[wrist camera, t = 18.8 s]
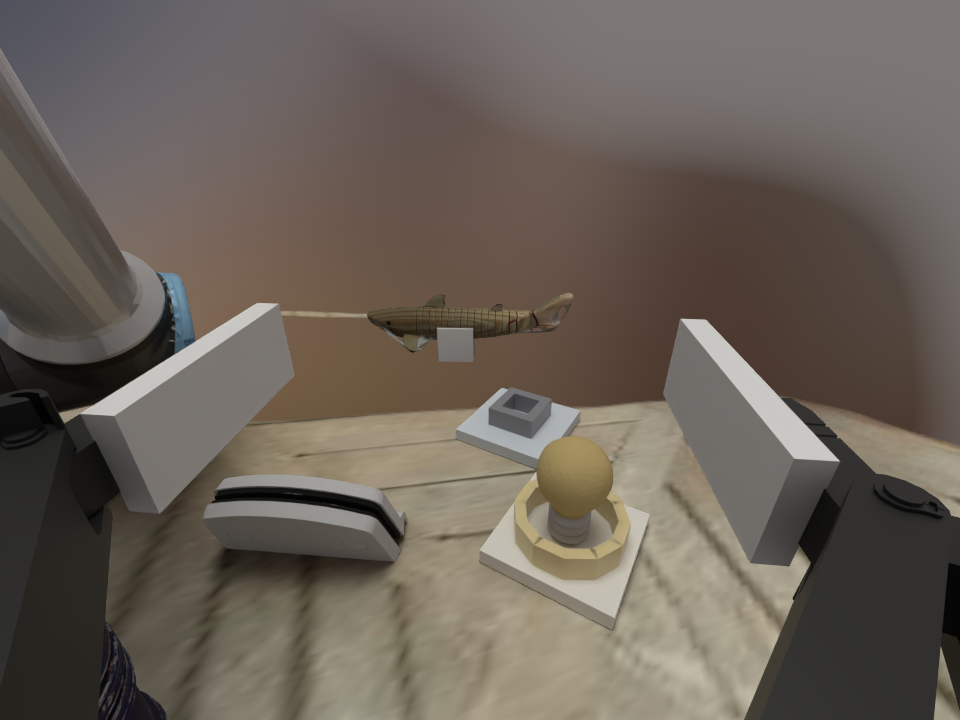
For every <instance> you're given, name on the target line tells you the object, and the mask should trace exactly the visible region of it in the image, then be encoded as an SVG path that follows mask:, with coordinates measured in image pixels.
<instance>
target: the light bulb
mask: <svg viewBox="0 0 960 720" xmlns="http://www.w3.org/2000/svg"><path fill="white" fill-rule="evenodd" d="M536 475H537V481H538V485H539V488H540V490H541V492H542V494H543V496H544V497H545V498H546V500H547V501H548V502H549V513H548V530H549V532H550V534H551V535H552V536H553V537H554V538H555V539H557V540H558V541H560V542H563V543H567V544H576V543H579V542H581V541H583V540H584V539H585V538H586V537H587V535H588V532H589V525H590V517H591V511H592V510H594V509H595V508H597V507H598V506H600V505H601V504H602V503H603V502H604V500H605V499H606V498H607V497H608V495H609V493H610V491H611V488H612V484H613V469H612V465H611V462H610V460H609V458H608V456H607V455H606V453H605V452H604V451H603V450H602V448H601V447H600V446H598V445H597V444H596V443H595V442H593V441H592V440H590V439H587V438H584V437H579V436H568V437H562V438H559V439H557V440H554V441H552V442H550V443H549V444H548V445H547V446H546V447H545V448H544V449H543V451H542V452H541V455H540V457H539V459H538V463H537V470H536Z"/></svg>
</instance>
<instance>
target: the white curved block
mask: <svg viewBox="0 0 960 720" xmlns="http://www.w3.org/2000/svg"><path fill="white" fill-rule="evenodd" d="M214 494H215V495H216V496H215V499H216V500H215V501H213V502H212V503H211V504H208V505H207V506H206V508H205V512H204V515H203V518H202V522H203V523H204V524H205V525H206V526H207V528H208V529H209V530H210V531H211V532H212V533H213V534H214V535H215V536H216V538H217V539H218V540H219V541H220V542H221V543H222V544H223V545H224V546H225V547H226V548H228V549H240V550H253V551H265V552H278V553H290V554H302V555H315V556H327V557H339V558H352V559H364V560H376V561H389V562H395V561H396V560H397V558H398V556H399V553H400V551H401V549H400V548H399V547H398V543H397V541H396V540H395V539H394V538H398V539H399V538H400V535H403V536H404V523H407V517H406V515H405V512H404V511H395V509H394V508H393V506H392V505H391V503H390V502H389V500H388V499H387V497H386V496H385V494H384V493H383V492H382V491H380V490H378V489H376V488H372V487H368V486H363V485H359V484H354V483H349V482H344V481H338V480H331V479H324V478H317V477H308V476H296V475H247V476H238V477H231V478H226V479H224V480H223V481H222V482H221V483H220V485H219V486H218V487H217V488H216V490H215V491H214Z"/></svg>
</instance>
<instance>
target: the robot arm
mask: <svg viewBox="0 0 960 720" xmlns="http://www.w3.org/2000/svg"><path fill="white" fill-rule="evenodd" d="M293 376H294V371H293V366H292V362H291V357H290V353H289V348H288V344H287V339H286V335H285V331H284V326H283V321H282V318H281V312H280V308H279V304H267V303H257V304H255V305H254V306H252V307H250V308H249V309H247V310H245V311H244V312H242V313H240V314H239V315H237V316H236V317H234V318H232V319H231V320H229V321H228V322H226V323H225V324H223V325H221V326H220V327H218V328H216V329H215V330H213V331H212V332H210V333H208V334H207V335H205V336H204V337H202V338H201V339H199V340H197V341H196V340H195V334H194V327H193V322H192V318H191V313H190V309H189V304H188V300H187V296H186V291H185V287H184V284H183V281H182V279H181V278H180V276H178V275H177V274H173V273H168V274H167V273H166V274H165V273H163V272H158V273H155V272H154V271H153V270H152V269H151V268H150V266H149V265H147V264H146V263H145V262H143V261H142V260H140V259H139V258H137V257H135V256H134V255H131V254H129V253H127V252H125V251H122V250H119V248H118V246H117V245H116V243H115V241H114V240H113V238H112V236H111V235H110V233H109V231H108V229H107V228H106V226H105V224H104V223H103V221H102V219H101V218H100V216H99V214H98V212H97V211H96V209H95V207H94V206H93V204H92V202H91V201H90V199H89V197H88V196H87V194H86V192H85V191H84V189H83V187H82V185H81V184H80V182H79V180H78V179H77V177H76V175H75V174H74V172H73V170H72V169H71V167H70V165H69V164H68V162H67V160H66V158H65V157H64V155H63V153H62V152H61V150H60V148H59V147H58V145H57V143H56V142H55V140H54V138H53V136H52V135H51V133H50V132H49V130H48V128H47V126H46V125H45V123H44V121H43V120H42V118H41V117H40V115H39V113H38V111H37V109H36V108H35V106H34V105H33V103H32V101H31V99H30V98H29V96H28V94H27V93H26V91H25V89H24V88H23V86H22V84H21V83H20V81H19V79H18V78H17V76H16V74H15V72H14V71H13V69H12V67H11V66H10V64H9V62H8V61H7V59H6V57H5V55H4V54H3V52H2V50H1V49H0V720H98V709H99V695H100V681H101V667H102V653H103V639H104V626H105V612H106V598H107V584H108V570H109V556H110V542H111V528H112V514H111V511H110V509H109V507H108V505H107V503H108V502H109V501H110V500H111V499H112V498H113V497H114V496H116V495H117V494H118V493H119V492H120V494H121V496H122V498H123V500H124V502H125V504H126V506H127V508H128V510H129V511H130V512H142V513H154V514H160V513H161V512H162V511H163V510H164V509H165V508H166V507H167V506H168V505H169V504H170V503H171V502H172V501H173V500H174V499H175V498H176V497H177V496H178V495H179V493H180V492H181V491H182V490H183V489H184V488H185V487H186V486H187V485H188V484H189V483H190V482H191V481H192V480H193V479H194V478H195V477H196V476H197V475H198V474H199V473H200V472H201V471H202V470H203V469H204V468H205V467H206V466H207V465H208V464H209V463H210V462H211V461H212V459H213V458H214V457H215V456H216V455H217V454H218V453H219V452H220V451H221V450H222V449H223V448H224V447H225V446H226V445H227V444H228V443H229V442H230V441H231V440H232V439H233V438H234V437H235V436H236V435H237V434H238V433H239V432H240V431H241V430H242V429H243V428H244V426H245V425H246V424H247V423H248V422H249V421H250V420H251V419H252V418H253V417H254V416H255V415H256V414H257V413H258V412H259V411H260V410H261V409H262V408H263V407H264V406H265V405H266V404H267V403H268V402H269V400H271V399H272V398H273V396H274V395H276V393H277V392H278V391H279V390H280V389H281V388H282V387H283V386H284V385H285V384H286V383H287V382H288V381H289V380H290V379H291V378H292V377H293ZM663 395H664V397H665V399H666V401H667V402H668V404H669V406H670V408H671V410H672V412H673V414H674V416H675V418H676V420H677V422H678V424H679V426H680V428H681V430H682V432H683V434H684V436H685V437H686V439H687V441H688V443H689V445H690V447H691V449H692V451H693V453H694V455H695V457H696V459H697V461H698V463H699V465H700V467H701V469H702V471H703V472H704V474H705V476H706V478H707V480H708V482H709V484H710V486H711V488H712V490H713V492H714V494H715V496H716V498H717V500H718V502H719V504H720V506H721V507H722V509H723V511H724V513H725V515H726V517H727V519H728V521H729V523H730V525H731V527H732V529H733V531H734V533H735V535H736V537H737V539H738V541H739V542H740V544H741V546H742V548H743V550H744V552H745V554H746V556H747V558H748V560H749V562H750V563H755V564H767V565H779V566H790V564H791V562H792V560H793V558H794V555H795V553H796V551H797V549H798V547H799V545H800V547H801V548H802V550H803V551H804V553H805V554H806V556H807V557H808V559H809V560H810V562H811V564H810V566H809V568H808V570H807V571H806V573H805V575H804V577H803V579H802V581H801V583H800V585H799V587H798V589H797V591H796V593H795V595H794V597H793V600H794V602H793V604H792V607H791V609H790V611H789V614H788V616H787V619H786V621H785V623H784V626H783V628H782V631H781V633H780V635H779V638H778V640H777V642H776V645H775V647H774V650H773V652H772V654H771V657H770V659H769V662H768V664H767V666H766V669H765V671H764V674H763V676H762V678H761V681H760V683H759V686H758V688H757V690H756V693H755V695H754V697H753V700H752V702H751V705H750V707H749V709H748V712H747V714H746V717H745V719H744V720H934V710H935V699H936V689H937V678H938V668H939V657H940V647H941V648H942V651H943V655H944V658H945V661H946V665H947V668H948V672H949V675H950V678H951V682H952V685H953V689H954V692H955V695H956V699H957V702H958V706H959V709H960V518H958V517H954V516H951V514H950V511H949V510H948V509H947V508H946V507H945V506H944V504H943V503H942V502H941V501H940V500H939V499H937V498H936V497H934V496H933V495H931V494H930V493H928V492H927V491H925V490H924V489H922V488H920V487H918V486H916V485H913V484H911V483H909V482H907V481H905V480H901V479H898V478H895V477H892V476H888V475H883V474H876V473H875V472H874V471H873V470H872V469H871V468H870V467H869V466H868V465H867V464H866V463H865V462H864V461H863V460H862V459H861V458H859V457H858V456H857V455H856V454H855V453H854V452H853V451H852V450H851V449H850V448H849V447H848V446H847V445H846V444H845V443H844V442H843V441H842V440H841V439H840V438H837V435H836V434H835V433H834V432H833V431H832V430H831V429H830V428H829V427H826V426H825V425H826V424H825V423H824V422H823V421H822V420H821V419H820V418H819V417H818V416H817V415H816V414H815V413H814V412H813V411H811V410H810V409H808V408H806V407H805V406H803V405H801V404H800V403H798V402H796V401H794V400H793V399H790V398H780V397H779V396H778V395H777V394H776V393H775V392H774V391H773V390H772V389H771V388H770V387H769V386H768V385H767V384H766V383H765V382H764V381H763V380H762V378H761V377H759V375H758V374H757V373H756V372H755V371H754V370H753V369H752V368H751V367H750V366H749V365H748V364H747V363H746V362H745V361H744V360H743V358H742V357H741V356H740V355H739V354H738V353H737V352H736V351H735V350H734V349H733V348H732V347H731V346H730V345H729V344H728V343H727V342H726V340H725V339H724V338H723V337H722V336H721V335H720V334H719V333H718V332H717V331H716V330H715V329H714V328H713V327H712V326H711V325H710V324H709V323H708V322H707V320H697V319H680V323H679V327H678V332H677V336H676V341H675V345H674V349H673V354H672V358H671V362H670V367H669V371H668V376H667V380H666V384H665V389H664V393H663ZM92 405H93V406H92ZM88 406H92V407H90V408H88V409H87V410H85V411H84V412H82V413H80V414H79V415H78V416H76V417H74V418H73V419H71V420H70V421H68V422H66V423H65V424H64V422H63V420H62V419H61V417H60V415H59V413H60V412H65V411H69V410H74V409H79V408H83V407H88Z"/></svg>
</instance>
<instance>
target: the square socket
mask: <svg viewBox="0 0 960 720" xmlns="http://www.w3.org/2000/svg"><path fill="white" fill-rule="evenodd" d="M579 419H580V411H579V410H576V409H572V408H569V407H565V406H562V405H558V404H555V403H552V399H550V398H546V397H543V396H539V395H536V394H532V393H529V392H526V391H522V390H518V389H515V388H512V387H511V388H510V389H508V390H507V389H504V388H501V389H500V390H499V391H498V392H497V393H496V394H494V395H493V396H492V397H491V398H490V399H489V400H488V401H487V402H486V403H485V404H483V405H482V406H481V407H480V408H479V409H478V410H477V411H476V412H475V413H473V414H472V415H471V416H470V417H469V418H468V419H467V420H466V421H465V422H463V423H462V424H461V425H460V426H459V427H458V428H457V429H456V439H457V440H460V441H463V442H465V443H468V444H471V445H473V446H476V447H479V448H481V449H484V450H487V451H489V452H492V453H495V454H497V455H500V456H503V457H505V458H508V459H511V460H513V461H516V462H519V463H521V464H524V465H527V466H529V467H532V468H535V469H537V463H538V459H539V457H540V455H541V452H542V451H543V449H544V448H545V447H546V446H547V445H548V444H549V443H550V442H552V441H554V440H557V439H559V438H562V437H568V436H569V434H570V433H571V431H572V430H573V429H574V427H575V426H576V424H577V423H578V421H579Z"/></svg>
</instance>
